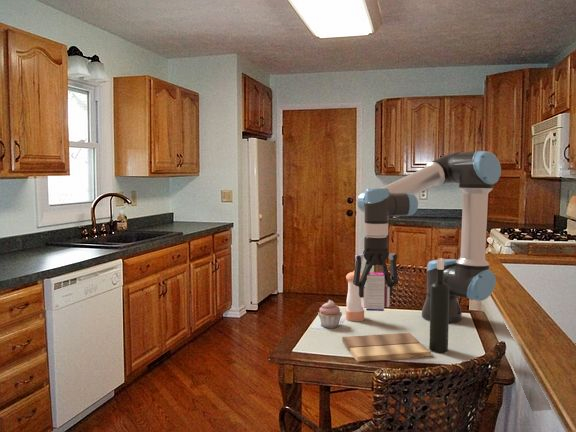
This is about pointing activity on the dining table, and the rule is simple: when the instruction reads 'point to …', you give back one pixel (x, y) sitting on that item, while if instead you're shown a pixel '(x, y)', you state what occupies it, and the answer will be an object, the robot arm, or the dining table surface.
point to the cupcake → (330, 315)
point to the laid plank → (389, 352)
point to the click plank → (378, 340)
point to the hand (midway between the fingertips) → (375, 306)
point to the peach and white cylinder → (353, 300)
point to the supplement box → (375, 291)
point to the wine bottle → (439, 312)
